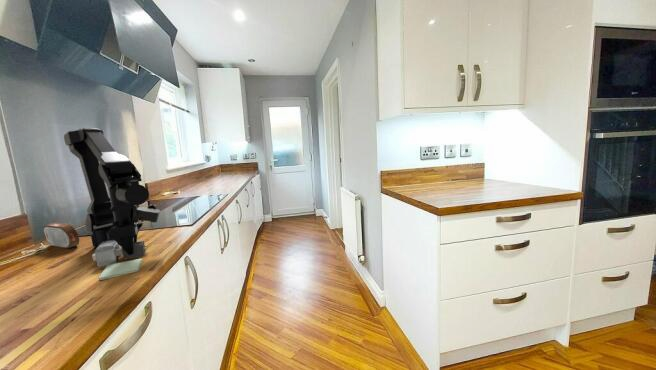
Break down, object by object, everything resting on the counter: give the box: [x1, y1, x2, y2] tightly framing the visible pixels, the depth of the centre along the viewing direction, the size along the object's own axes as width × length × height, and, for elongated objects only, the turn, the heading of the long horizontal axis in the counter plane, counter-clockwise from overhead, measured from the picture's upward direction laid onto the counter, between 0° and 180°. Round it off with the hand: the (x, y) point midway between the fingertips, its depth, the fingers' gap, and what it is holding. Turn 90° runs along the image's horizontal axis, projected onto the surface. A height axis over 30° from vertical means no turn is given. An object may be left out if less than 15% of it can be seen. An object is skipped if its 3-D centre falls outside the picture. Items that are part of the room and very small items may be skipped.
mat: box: [98, 257, 143, 281], centre depth 69 cm, size 8×8×1 cm
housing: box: [94, 240, 122, 268], centre depth 75 cm, size 4×8×5 cm, turn 29°
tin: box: [42, 221, 80, 249], centre depth 88 cm, size 15×3×8 cm, turn 71°
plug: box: [92, 240, 148, 261], centre depth 77 cm, size 13×4×4 cm, turn 119°
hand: (132, 251), depth 78 cm, fingers open, 5 cm apart
